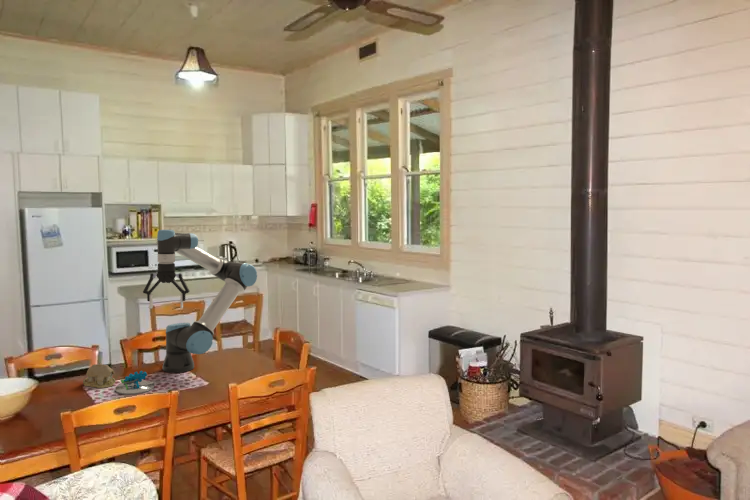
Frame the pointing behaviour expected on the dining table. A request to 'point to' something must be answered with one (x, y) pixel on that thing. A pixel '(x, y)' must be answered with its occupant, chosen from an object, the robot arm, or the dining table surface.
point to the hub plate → (135, 388)
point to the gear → (134, 378)
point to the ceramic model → (99, 376)
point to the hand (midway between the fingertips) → (166, 308)
